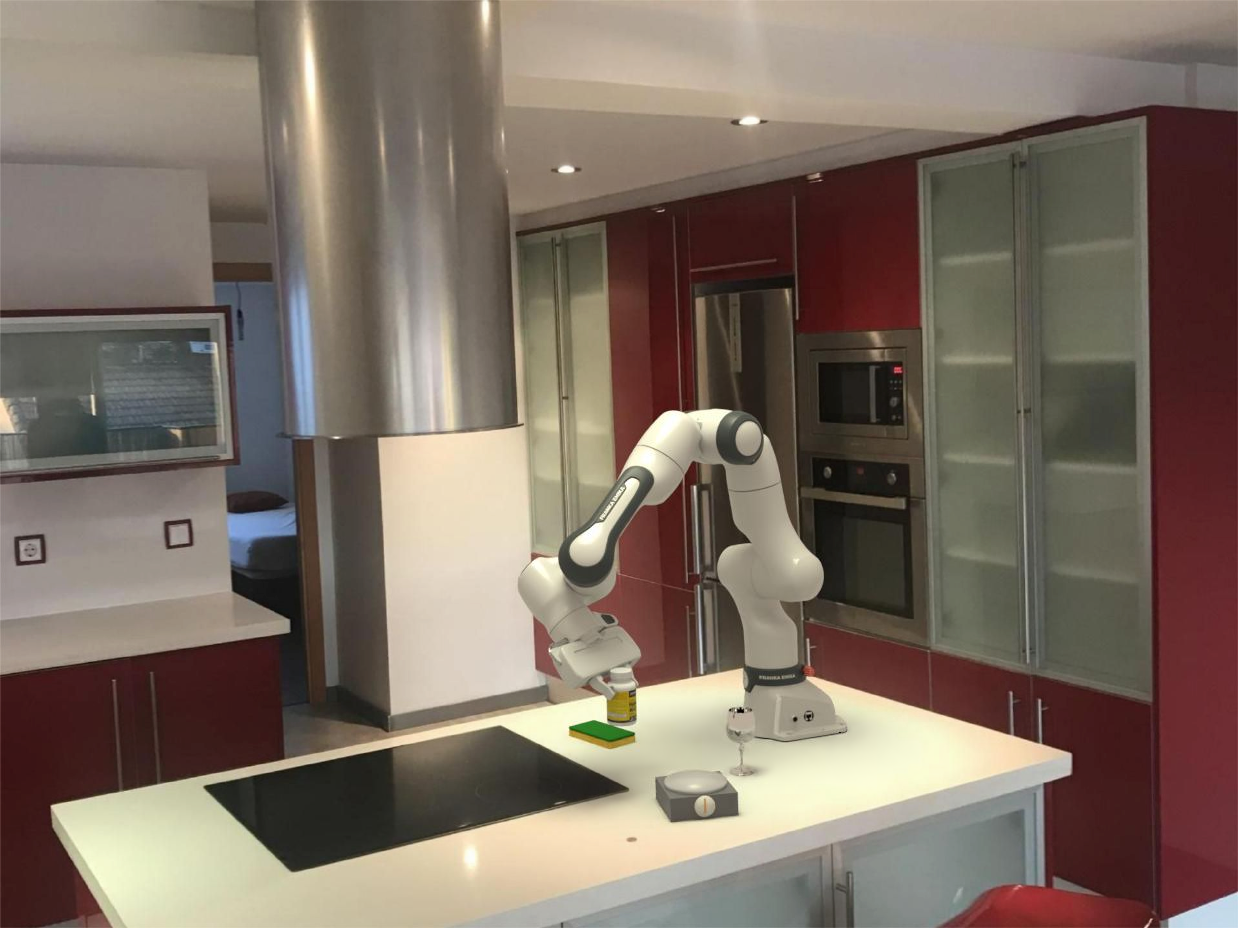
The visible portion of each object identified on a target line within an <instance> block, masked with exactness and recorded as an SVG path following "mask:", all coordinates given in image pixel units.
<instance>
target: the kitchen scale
mask: <svg viewBox="0 0 1238 928" xmlns="http://www.w3.org/2000/svg"><path fill="white" fill-rule="evenodd" d="M654 778H655V780H654V782H655V788H654V789H655V800H656V801H657V802H658V805H659V806H660V807H661V809H662V811H663V812H664V814H665V815H666V816H667V818H668V820H669V821H670V822H671V823H672V821H673V822H681V821H691V820H701V819H702V820H703V819H709V818H710V819H712V818H721V817H732V816H739V792H738V791H737V789H736V788H735V787H734V786H733V785H732V784H731V782H730V781H729V780H728V779H727V777H726V776H725V775H724V774H723V772H721V770H716V771H715V770H714V771H711V770H705V769H704V770H703V769H690V770H682V771H678V772H673V773H671V774H669V775H663V776H662V775H661V776H654Z"/></svg>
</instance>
